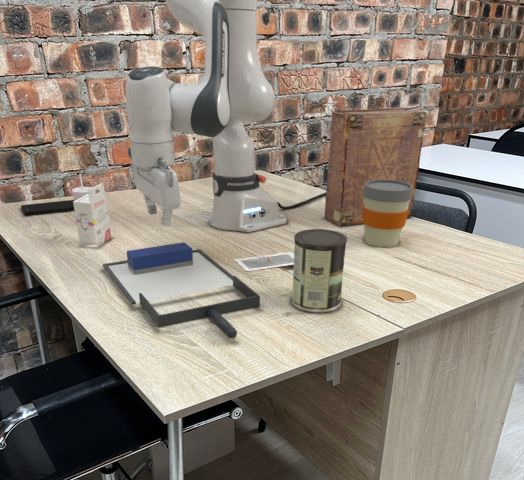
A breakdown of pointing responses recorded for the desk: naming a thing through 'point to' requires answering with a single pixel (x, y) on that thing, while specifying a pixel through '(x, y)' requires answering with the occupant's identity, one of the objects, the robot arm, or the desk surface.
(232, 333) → the dustpan
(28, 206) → the cell phone
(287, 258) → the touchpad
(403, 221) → the reusable coffee cup
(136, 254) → the eraser
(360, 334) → the desk surface
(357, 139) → the book
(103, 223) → the ink cartridge box
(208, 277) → the whiteboard
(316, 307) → the coffee can
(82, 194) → the smoothie
